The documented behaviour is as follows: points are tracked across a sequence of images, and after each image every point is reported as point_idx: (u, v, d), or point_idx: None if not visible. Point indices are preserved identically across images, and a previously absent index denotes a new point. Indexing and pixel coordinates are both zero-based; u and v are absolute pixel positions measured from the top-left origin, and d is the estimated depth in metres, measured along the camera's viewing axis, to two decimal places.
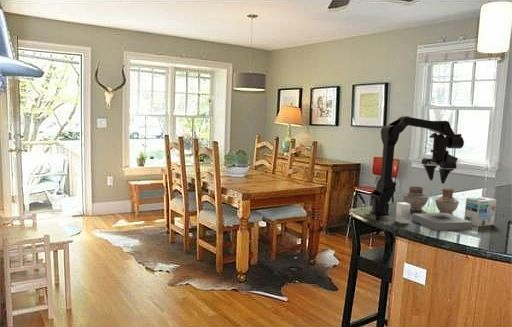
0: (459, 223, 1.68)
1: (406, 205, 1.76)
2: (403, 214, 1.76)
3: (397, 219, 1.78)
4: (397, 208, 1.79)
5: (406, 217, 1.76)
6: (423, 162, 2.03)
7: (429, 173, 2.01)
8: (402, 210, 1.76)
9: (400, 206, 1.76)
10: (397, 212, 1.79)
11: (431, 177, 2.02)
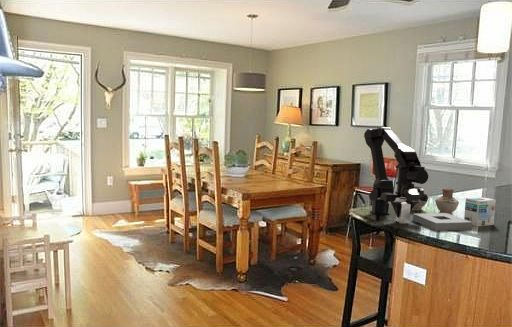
0: (459, 223, 1.68)
1: (406, 205, 1.76)
2: (403, 214, 1.76)
3: (397, 219, 1.78)
4: None
5: (406, 217, 1.76)
6: None
7: None
8: (402, 210, 1.76)
9: (400, 206, 1.76)
10: None
11: None
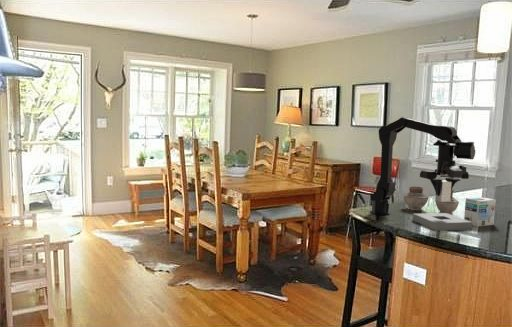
0: (459, 223, 1.68)
1: (447, 183, 1.72)
2: (444, 192, 1.72)
3: (437, 197, 1.74)
4: None
5: (447, 195, 1.72)
6: None
7: None
8: (443, 188, 1.71)
9: (441, 184, 1.72)
10: None
11: None
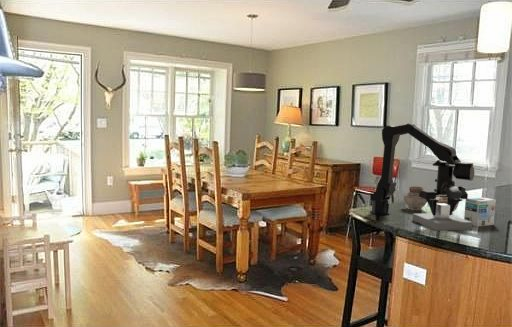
0: (459, 223, 1.68)
1: (446, 206, 1.73)
2: (443, 216, 1.73)
3: None
4: (436, 209, 1.75)
5: (445, 218, 1.73)
6: None
7: None
8: (442, 211, 1.73)
9: (439, 207, 1.73)
10: None
11: None
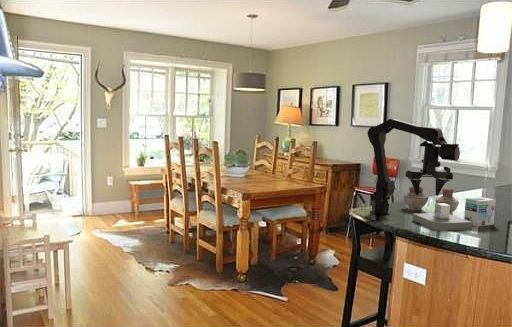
0: (459, 223, 1.68)
1: (446, 206, 1.73)
2: (443, 216, 1.73)
3: None
4: (436, 209, 1.75)
5: (445, 218, 1.73)
6: None
7: (436, 187, 1.80)
8: (442, 211, 1.73)
9: (439, 207, 1.73)
10: (435, 213, 1.76)
11: (436, 192, 1.79)
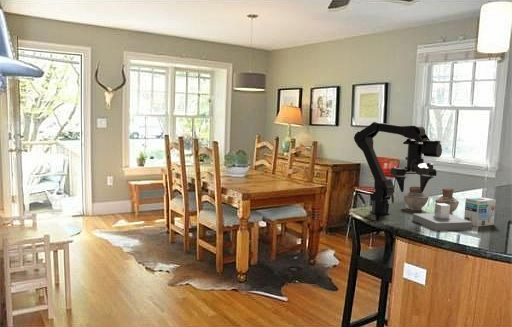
0: (459, 223, 1.68)
1: (446, 206, 1.73)
2: (443, 216, 1.73)
3: None
4: (436, 209, 1.75)
5: (445, 218, 1.73)
6: None
7: (421, 183, 1.84)
8: (442, 211, 1.73)
9: (439, 207, 1.73)
10: (435, 213, 1.76)
11: (421, 188, 1.83)
